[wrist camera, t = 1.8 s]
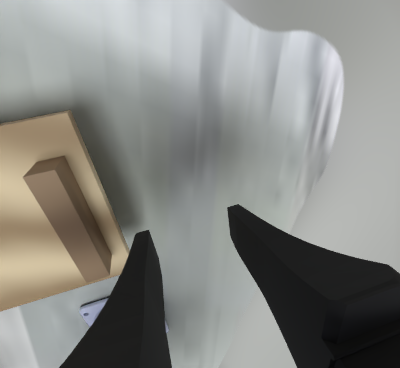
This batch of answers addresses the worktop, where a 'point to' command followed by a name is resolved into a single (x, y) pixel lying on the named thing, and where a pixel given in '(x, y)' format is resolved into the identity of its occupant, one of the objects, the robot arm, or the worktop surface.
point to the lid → (52, 212)
